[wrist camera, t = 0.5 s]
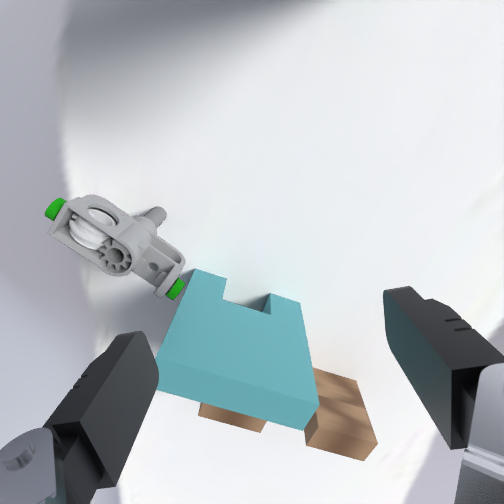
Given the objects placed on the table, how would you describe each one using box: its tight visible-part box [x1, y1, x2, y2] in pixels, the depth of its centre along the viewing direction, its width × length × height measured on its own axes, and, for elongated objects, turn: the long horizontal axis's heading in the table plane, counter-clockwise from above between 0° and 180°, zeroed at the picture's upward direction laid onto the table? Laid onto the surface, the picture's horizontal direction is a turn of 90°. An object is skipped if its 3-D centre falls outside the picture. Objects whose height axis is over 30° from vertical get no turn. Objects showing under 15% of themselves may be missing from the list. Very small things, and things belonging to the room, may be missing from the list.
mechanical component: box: [45, 195, 185, 300], centre depth 26 cm, size 3×10×10 cm, turn 51°
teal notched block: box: [155, 269, 320, 431], centre depth 28 cm, size 12×3×13 cm, turn 70°
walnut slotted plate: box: [198, 368, 378, 461], centre depth 34 cm, size 18×3×8 cm, turn 70°
